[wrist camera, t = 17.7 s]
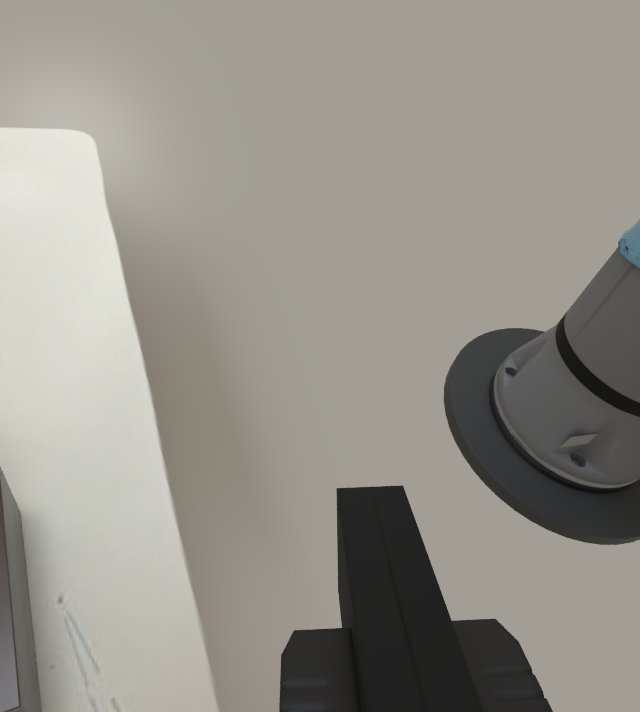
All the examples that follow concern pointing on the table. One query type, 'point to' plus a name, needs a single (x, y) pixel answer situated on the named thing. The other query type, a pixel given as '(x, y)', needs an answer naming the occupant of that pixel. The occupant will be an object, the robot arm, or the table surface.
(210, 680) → the table surface
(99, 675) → the table surface
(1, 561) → the case
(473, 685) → the robot arm
